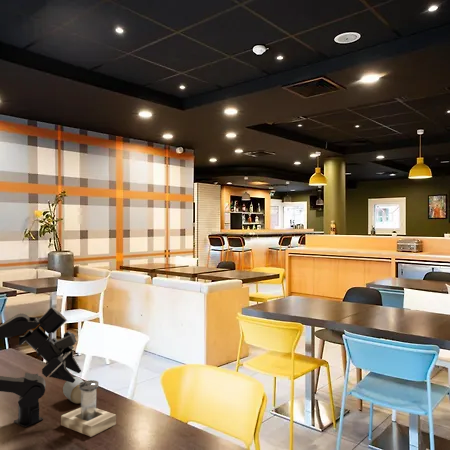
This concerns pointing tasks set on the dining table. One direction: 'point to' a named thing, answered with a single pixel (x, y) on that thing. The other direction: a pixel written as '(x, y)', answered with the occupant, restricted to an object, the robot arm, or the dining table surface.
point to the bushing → (88, 399)
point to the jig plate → (88, 422)
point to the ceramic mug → (73, 390)
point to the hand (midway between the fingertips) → (77, 376)
